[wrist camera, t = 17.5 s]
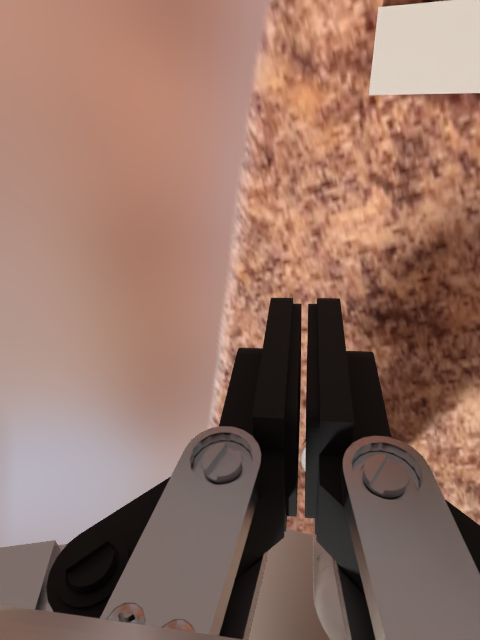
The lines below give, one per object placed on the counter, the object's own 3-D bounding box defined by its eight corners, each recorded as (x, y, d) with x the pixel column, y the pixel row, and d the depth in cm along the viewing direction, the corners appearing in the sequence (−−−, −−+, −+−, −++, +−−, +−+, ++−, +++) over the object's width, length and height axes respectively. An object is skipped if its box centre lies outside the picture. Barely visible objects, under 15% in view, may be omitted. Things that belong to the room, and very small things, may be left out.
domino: (381, 8, 27) (557, -8, 24) (372, 93, 30) (529, 89, 26) (378, 7, 26) (564, -11, 23) (368, 95, 29) (532, 91, 25)
